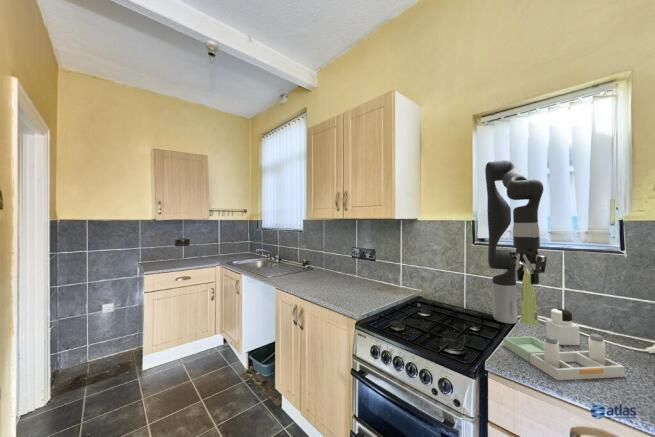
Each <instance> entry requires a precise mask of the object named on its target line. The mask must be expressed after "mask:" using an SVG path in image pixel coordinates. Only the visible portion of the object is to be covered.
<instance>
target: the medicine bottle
mask: <svg viewBox="0 0 655 437" xmlns="http://www.w3.org/2000/svg"><path fill="white" fill-rule="evenodd" d="M550 315H551V316H550V317H551V318H548V319H547V318H546V319H545V336H552V337H555V338H557V342H558V343H559V346H581V337H580V336H581V334H580V326H578V325H576V324H575V323H573V313H572V312H571V311H569V310H568V309H563V308H552V309H551V310H550Z"/></svg>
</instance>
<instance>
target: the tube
mask: <svg viewBox="0 0 655 437" xmlns="http://www.w3.org/2000/svg"><path fill="white" fill-rule="evenodd" d="M525 268H526V269H524V276H523V281H522V282H521V287H520V288H521V289H520V291H521V292H520V322H521V323H522V324H525V325H529V326H537V325H539V319H538V306H537V300H536V293H535V288H534V285H533V284H531V277H530V274H531V273H530V270H528V267H527V266H525Z"/></svg>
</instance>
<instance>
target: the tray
mask: <svg viewBox="0 0 655 437" xmlns="http://www.w3.org/2000/svg"><path fill="white" fill-rule="evenodd" d="M503 346H504V347H505V348H506V349H508V350H510V351H511V352H513V353H515V354H516V355H518V356H520V357H521V358H522V359H524V360H525V361H527V362H528V363H529V362H530V354H532V353H544V341H542V340H540V339H538V338H536V337H534V336H512V337H511V336H510V337H508V336H507V337H503ZM559 352H561V350H559Z"/></svg>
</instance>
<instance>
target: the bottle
mask: <svg viewBox="0 0 655 437" xmlns="http://www.w3.org/2000/svg"><path fill="white" fill-rule="evenodd" d="M543 342H544V360H545V361H546V362H547V363H549V364H551V365H552V366H554V367H556V368H557V369H558V368H560V357H559V351H560V345H559V343H558V342H557V338H555V337H552V336H546V335H545V337H544V339H543Z"/></svg>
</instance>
